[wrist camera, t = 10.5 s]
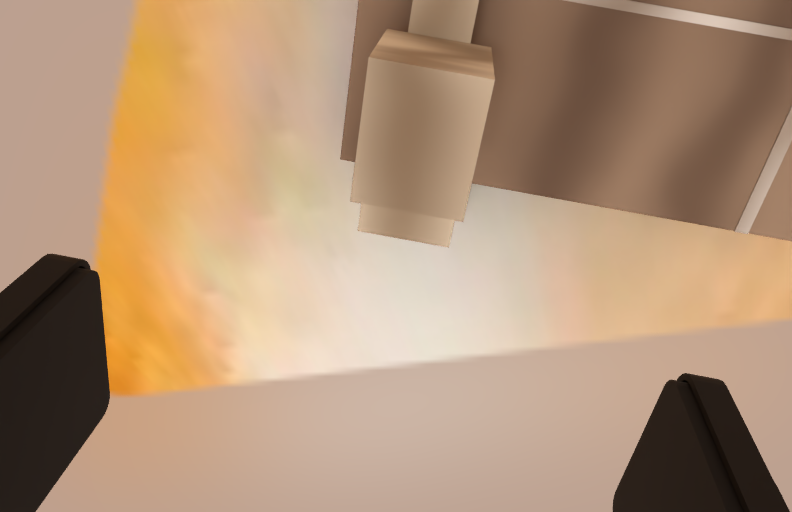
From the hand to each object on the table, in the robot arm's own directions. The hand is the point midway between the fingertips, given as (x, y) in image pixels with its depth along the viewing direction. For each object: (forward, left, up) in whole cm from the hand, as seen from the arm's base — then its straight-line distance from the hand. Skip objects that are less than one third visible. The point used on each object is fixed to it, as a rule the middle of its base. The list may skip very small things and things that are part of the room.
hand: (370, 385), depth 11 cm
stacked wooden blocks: (0, +1, -22) cm, 22 cm away
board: (-7, -1, -22) cm, 23 cm away
